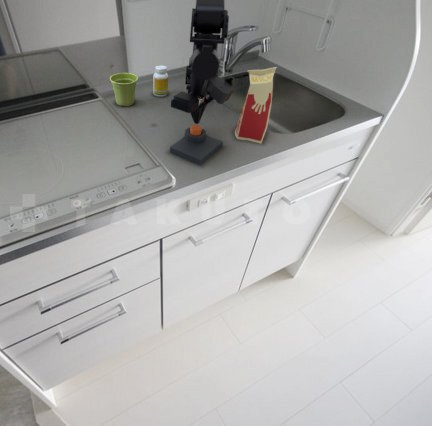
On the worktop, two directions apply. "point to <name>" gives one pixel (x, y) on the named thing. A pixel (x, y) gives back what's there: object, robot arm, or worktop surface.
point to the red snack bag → (256, 106)
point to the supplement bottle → (160, 81)
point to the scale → (196, 147)
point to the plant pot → (124, 88)
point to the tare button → (195, 130)
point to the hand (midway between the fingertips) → (196, 123)
